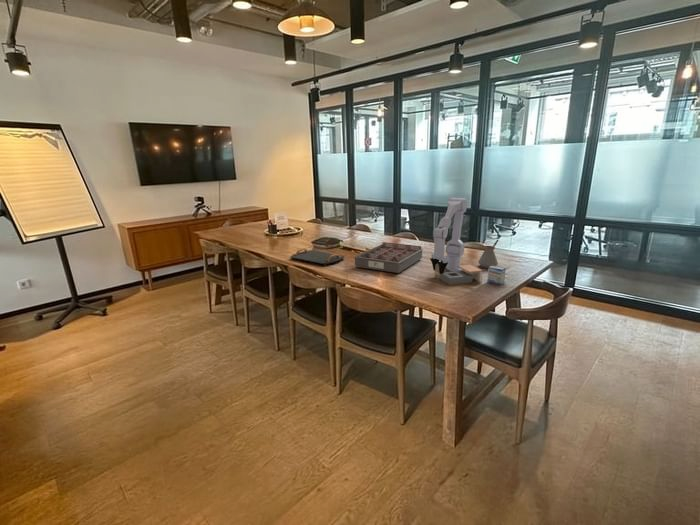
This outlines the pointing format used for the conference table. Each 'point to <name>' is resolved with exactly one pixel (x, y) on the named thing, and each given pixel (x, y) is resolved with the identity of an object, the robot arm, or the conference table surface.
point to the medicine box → (496, 275)
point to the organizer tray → (389, 257)
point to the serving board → (317, 256)
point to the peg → (437, 272)
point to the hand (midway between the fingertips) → (438, 271)
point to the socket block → (456, 277)
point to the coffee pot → (488, 257)
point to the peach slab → (472, 271)
